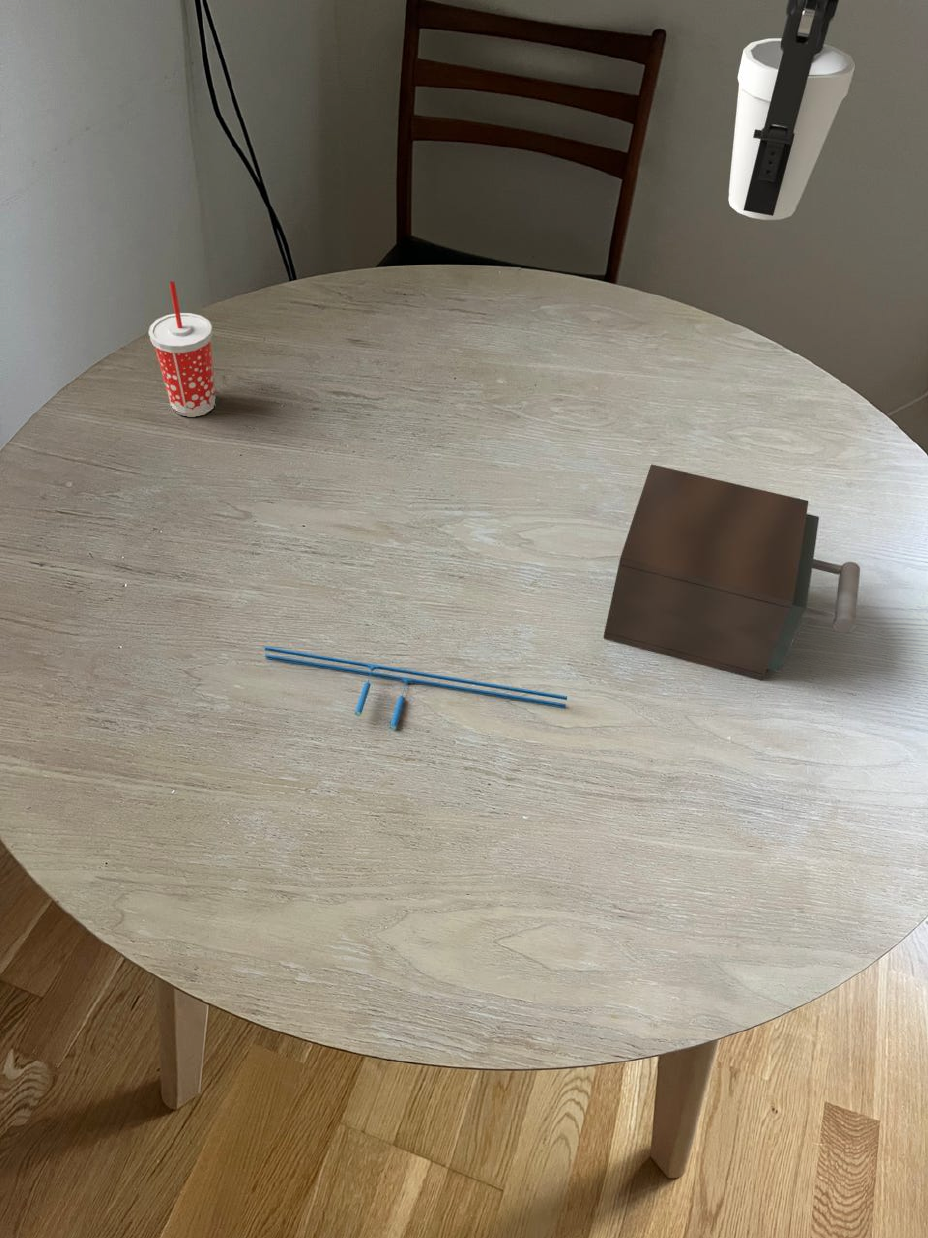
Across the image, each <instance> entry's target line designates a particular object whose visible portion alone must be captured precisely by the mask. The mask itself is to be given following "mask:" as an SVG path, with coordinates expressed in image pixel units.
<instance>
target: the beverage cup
mask: <svg viewBox="0 0 928 1238" xmlns="http://www.w3.org/2000/svg"><path fill="white" fill-rule="evenodd" d="M169 288H170V295H171V298H172V304H173V310H174V313H170V314H167V315H164V316H161V317H160V318H157V319H156V320H155V321H154V322H153V323H152V324H150V326H149V329H148V337H149V340H150V342H151V344H152V346H153V347H154V349H155V353H156V357H157V360H158V364H159V367H160V371H161V375H162V378H163V383H164V387H165V389H166V393H167V397H168V401H169V404H170V407H171V406H172V408H173V409H175V410H176V411H178V412H181V413H201V412H203V411H204V412H205V411H206V410H208V409H210V408H211V407H212V406H213V405H214V404H215V399H216V389H215V387H216V386H215V376H214V364H213V352H212V337H213V325H212V324H211V322H210V320H209V319H207V318H206V317H204V316H202V315H200V314H197V313H191V312H181V311H180V305H179V299H178V294H177V288H176V281H174V280H171V281H169ZM216 400H217V399H216ZM215 405H216V404H215ZM172 408H171V409H172Z"/></svg>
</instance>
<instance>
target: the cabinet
mask: <svg viewBox="0 0 928 1238" xmlns="http://www.w3.org/2000/svg"><path fill="white" fill-rule="evenodd" d="M808 508H809V500H807V499H806V500H805V499H802V498H798V497H794V496H790V495H784V494H781V493H776V492H772V491H768V490H763V489H759V488H755V487H750V486H746V485H743V484H742V485H741V484H737V483H734V482H730V481H725V480H721V479H716V478H712V477H708V476H704V475H699V474H694V473H691V472H687V471H681V470H677V469H674V468H669V467H665V466H661V465H656V464H653V463H652V464H650V466H649V468H648V472H647V475H646V478H645V481H644V484H643V487H642V489H641V494H640V497H639V500H638V502H637V505H636V508H635V511H634V514H633V517H632V520H631V524H630V526H629V530H628V533H627V535H626V539H625V542H624V544H623V548H622V551H621V554H620V557H619V562H618V566H617V571H616V575H615V580H614V586H613V591H612V595H611V599H610V605H609V609H608V614H607V619H606V624H605V628H604V632H603V639H605V640H609V641H613V642H617V643H620V644H624V645H626V646H627V645H628V646H631V647H635V648H638V649H643V650H646V651H650V652H654V653H658V654H661V655H665V656H669V657H673V658H677V659H680V660H683V661H687V662H691V663H695V664H698V665H702V666H707V667H709V668H714V669H718V670H720V671H721V670H722V671H726V672H729V673H733V674H737V675H740V676H744V677H747V678H751V679H755V680H759V681H762V680H763V679H764V676H765V673H766V671H767V670H768V669H767V666H768V664H769V661H770V659H771V656H772V654H773V651H774V649H775V646H776V644H777V641H778V639H779V636H780V634H781V631H782V629H783V626H784V623H785V621H786V618H787V616H788V613H789V611H790V608H791V606H792V603H793V600H794V594H795V587H796V581H797V574H798V567H799V561H800V554H801V548H802V541H803V535H804V528H805V522H806V515H807V514H808Z"/></svg>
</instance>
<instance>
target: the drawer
mask: <svg viewBox="0 0 928 1238" xmlns="http://www.w3.org/2000/svg"><path fill="white" fill-rule="evenodd" d="M819 522H820V516H818V515H814V514H810V513H807V515H806V522H805V528H804V535H803V541H802V548H801V554H800V561H799V567H798V574H797V581H796V587H795V594H794V600H793V603H792V606H791V608H790V611H789V613H788V616H787V618H786V621H785V623H784V626H783V629H782V631H781V634H780V636H779V639H778V641H777V644H776V646H775V649H774V651H773V654H772V656H771V659H770V661H769V664H768V666H767V669H766V670H770V671H774V672H778V673H780V672H781V671H782V669H783V666H784V665H785V661H786V659H787V657H788V654H789V652H790V649H791V647H792V644H793V642H794V639H795V637H796V634H797V632H798V629H799V627H800V625H801V622H802V621H803V618H804V617H805V618H810V619H814V620H818V621H821V622H824V623H825V622H826V623H829V624H833V628H834V629H835V630H837V631H838V632H839V633H851V632H852V631H853V630H854V629H855V627H856V621H857V620H856V618H857V609H858V608H857V607H858V598H859V587H860V578H861V577H860V576H861V567H860V565H859V563H856V562H853V561H846V562H844V563H842V564H836V563H832V562H828V561H824V560H819V559H816V558H814V557H815V551H816V543H817V536H818V530H819V529H818V528H819ZM813 570H817V571H822V572H826V573H830V574H833V575H839V576H838V583H837V584H838V585H837V592H836V602H835V611H834V613H833V612H830V611H825V610H820V609H816V608H813V607H809V606H808V599H809V593H810V587H811V579H812V572H813Z"/></svg>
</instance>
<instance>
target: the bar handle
mask: <svg viewBox="0 0 928 1238" xmlns="http://www.w3.org/2000/svg"><path fill="white" fill-rule="evenodd" d="M263 649H264V651H266V652H272V653H279V654H284V655H291V656H295V657H296V656H297V657H303V658H309V659H315V660H320V661H326V662H334V663H338V664H345V665H351V666H357V667H363V668H367V669H370V671H369V670H362V669H356V668H351V667H344V666H338V665H333V664H326V663H320V662H315V661H309V660H302V659H297V658H292V657H291V658H290V657H284V656H277V655H272V654H267V653H266V654H265V655H264V657H265V659H267V660H268V659H269V660H274V661H280V662H287V663H293V664H297V665H298V664H299V665H305V666H309V667H310V666H311V667H316V668H323V669H328V670H334V671H341V672H347V673H351V674H352V673H353V674H358V675H365V676H369V678H368V681H366V682H364V684H363V687H362V690H361V693H360V697H359V699H358V702H357V705H356V709H355V711H354V714H355V716H358V717H360V716H361V715H362V712H363V710H364V707H365V703H366V701H367V698H368V694H369V692H370V688H371V683H370V679H371V677H376V678H381V679H382V678H384V679H387V680H395V681H400V682H403V684H404V687H403V688H404V689H403V691H402V693H401V695H399V696H398V698H397V701H396V705H395V709H394V712H393V715H392V719H391V721H390V726H389V728H390V729H391V730H396V729H397V727H398V724H399V720H400V717H401V713H402V710H403V706H404V703H405V700H406V698H405V696H404V693H405V689H406V686H407V685H408V684H412V683H413V684H417V685H424V686H430V687H438V688H441V689H449V690H455V691H462V692H467V693H472V694H480V695H485V696H490V697H491V696H492V697H497V698H504V699H510V700H516V701H522V702H528V703H533V704H541V705H545V706H550V707H551V706H552V707H557V708H563V709H566V706H567V703H562V702H557V701H556V702H555V701H551V700H544V699H538V698H531V697H526V696H520V695H513V694H508V693H501V692H495V691H490V690H484V689H479V688H477V689H476V688H473V687H472V688H471V687H466V686H460V685H454V684H448V683H442V682H435V681H429V680H423V679H418V678H411V677H404V676H400V675H393V674H387V673H381V672H375V670H381V671H387V672H393V673H401V674H405V675H411V676H417V677H418V676H419V677H424V678H429V679H436V680H443V681H449V682H453V683H460V684H465V685H466V684H467V685H472V686H479V687H484V688H489V689H496V690H502V691H508V692H514V693H521V694H527V695H533V696H538V697H546V698H551V699H555V700H556V699H557V700H564V701H567V700H568V695H562V694H561V695H560V694H557V693H550V692H544V691H539V690H532V689H525V688H519V687H514V686H507V685H502V684H495V683H489V682H484V681H478V680H471V679H465V678H458V677H454V676H447V675H441V674H435V673H429V672H422V671H416V670H410V669H405V668H404V669H403V668H397V667H392V666H385V665H380V664H373V663H368V662H363V661H362V662H361V661H357V660H350V659H344V658H338V657H333V656H327V655H319V654H313V653H307V652H301V651H295V650H290V649H289V650H288V649H283V648H278V647H277V648H276V647H270V646H264V647H263Z"/></svg>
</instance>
